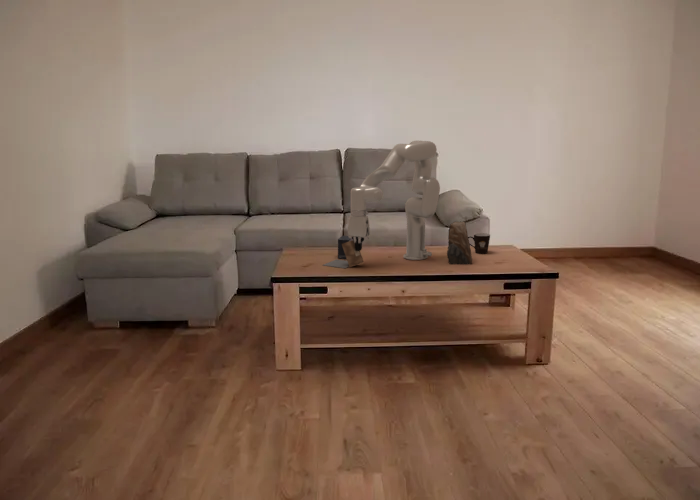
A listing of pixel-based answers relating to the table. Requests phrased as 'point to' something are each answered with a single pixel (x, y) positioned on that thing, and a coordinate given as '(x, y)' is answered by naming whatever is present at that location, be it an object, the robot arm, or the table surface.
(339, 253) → the small box
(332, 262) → the mat
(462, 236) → the brown grey rock
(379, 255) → the table surface
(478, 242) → the coffee mug
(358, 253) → the walnut block
